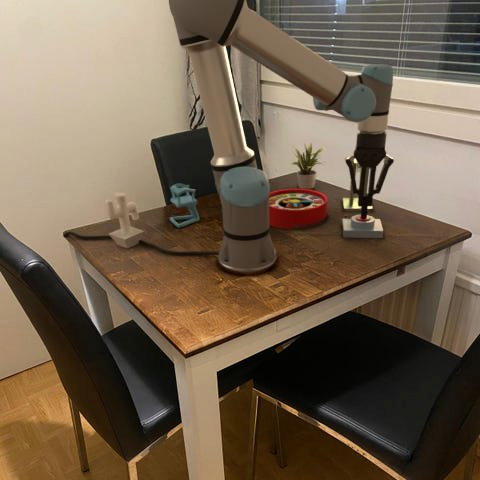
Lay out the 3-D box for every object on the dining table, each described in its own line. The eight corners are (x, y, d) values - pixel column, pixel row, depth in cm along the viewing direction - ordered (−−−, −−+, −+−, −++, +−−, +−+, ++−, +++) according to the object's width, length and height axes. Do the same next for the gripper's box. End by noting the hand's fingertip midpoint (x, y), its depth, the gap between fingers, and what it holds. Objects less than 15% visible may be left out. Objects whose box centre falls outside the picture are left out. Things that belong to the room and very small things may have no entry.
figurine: (149, 241, 144) (141, 191, 136) (123, 252, 138) (114, 200, 130) (132, 236, 148) (124, 186, 140) (107, 246, 142) (97, 196, 134)
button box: (343, 237, 141) (344, 224, 139) (341, 225, 148) (342, 212, 146) (382, 238, 139) (384, 224, 137) (379, 226, 147) (380, 213, 145)
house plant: (333, 195, 171) (336, 147, 163) (294, 198, 170) (295, 150, 161) (321, 183, 183) (324, 137, 175) (285, 186, 182) (285, 140, 173)
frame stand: (372, 212, 157) (377, 165, 149) (343, 211, 158) (347, 165, 150) (369, 201, 165) (374, 156, 157) (342, 201, 166) (345, 156, 158)
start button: (356, 225, 141) (357, 220, 140) (355, 221, 144) (356, 215, 143) (369, 226, 141) (369, 220, 140) (368, 221, 144) (368, 215, 143)
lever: (375, 150, 142) (375, 142, 143) (355, 150, 143) (355, 142, 143) (368, 172, 155) (369, 165, 156) (351, 172, 156) (351, 165, 156)
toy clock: (261, 189, 161) (323, 187, 160) (262, 206, 164) (322, 205, 164) (263, 211, 144) (331, 209, 144) (263, 230, 148) (330, 228, 147)
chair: (202, 222, 155) (199, 184, 148) (178, 228, 152) (173, 189, 145) (193, 215, 160) (190, 178, 154) (169, 220, 157) (164, 183, 151)
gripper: (395, 127, 131) (385, 212, 144) (345, 128, 133) (340, 212, 145) (399, 133, 125) (388, 222, 137) (347, 134, 126) (340, 221, 139)
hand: (363, 216), depth 141 cm, fingers closed
